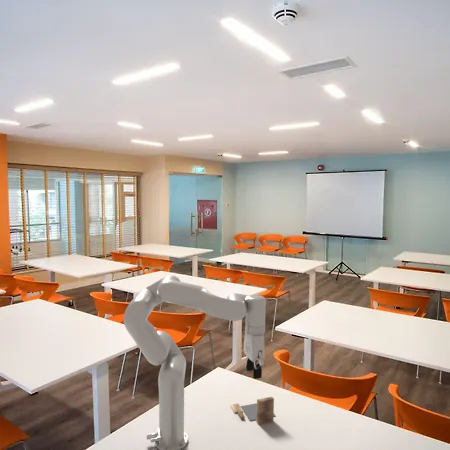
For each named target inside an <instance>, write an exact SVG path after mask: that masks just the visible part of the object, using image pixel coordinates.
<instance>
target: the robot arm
mask: <svg viewBox="0 0 450 450" xmlns="http://www.w3.org/2000/svg"><path fill="white" fill-rule="evenodd" d="M162 303H167V304H168V303H169V304H173V305H178V306H182V307H188V308H191V309H196V310H198V311H200V312H201V313H205V314H207V315H209V316H211V317H213V318H218V319H222V320H227V321H232V322H238V321H241V320H243V319H244V320H245V325H244V329H245V330H244V338H243V340H244V341H243V353H244V355H245V356H246V371H248V372H249V371H253V374H252V378H253V380H257V379H262V374H263V373H262V372H263V371H262V370H263V367H264V365H265V361H264V360H265V353H266V351H265V334H266V312H267V310H266V308H267V307H266V306H267V301H266V297H265V296H263V295H260V294H250V295H249V294H243V293H238V292H237V293H231V294H229V295H228V296H227V297H226V298H224V297H220V296H218V295H216V294H213V293H212V292H210V291H209V290H208V289H207V288H206V287H203V286H202V285H197V284H194V283H189V282H184V281H181V280H180V279H179V277H177V276H176V275H171V274H170V275H166V276H164V277H162V278H160V279H159V280H157V281H155V282H154V283H152V284H151V285H148V286H146V287H145V288H143V289H141V290H140V291H139V292H137V294H136V295H135V296H134V297H133V299H132V300H130V302H129V303H128V305H127V307H126V309H125V311H124V314H123V324H124V327H125V330H126V331H127V333H128V334H129V335H130V336H131V338H132V340H133V341H134V342H135V344H136V345H137V347H138V348H139V350H140V352H141V353H142V354H143V356H144V357H145V359H146V360H147V362H148V363H149V364H151V365H153V366H161V367H160V370H159V373H158V380H157V382H158V383H157V384H158V405H159V407H158V411H159V412H158V414H159V415H158V423H159V424H158V428H157V431H154V432H152V433H147V434H146V440H150V444H151V443H154V445H155V447H156V448H157V449H158V450H182V449H184V448H185V447H186V446H187V444H188V440H189V435H188V434H187V432H185V377H186V376H185V375H186V368H187V360H186V357H185V356H184V353H183V352H182V351H181V349H180V348H179V346H178V345H177V343H176V342H175V340H174V339H173V338H172V336H171V335H170V334H169V333H167V332H166V331H164V330H156V328H155V326H154V325H153V324H152V323H151V322H150V321H149V320H148V318H149V316H150V315H151V314H152V312H153V310H154V308H155V307H157V306H158V305H160V304H162ZM257 362H258V363H257Z"/></svg>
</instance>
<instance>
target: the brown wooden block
mask: <svg viewBox="0 0 450 450" xmlns="http://www.w3.org/2000/svg"><path fill="white" fill-rule="evenodd" d="M256 403H257V420H255V421H256V423H257V424H258V425H262V424H268V423H271V422H272V423H273V422H274V417H273V415H274V414H275V410H274V409H275V408H274V407H275V398H274V397H273V396H268V397H262V398H257V399H256Z"/></svg>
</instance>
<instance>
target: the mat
mask: <svg viewBox="0 0 450 450" xmlns="http://www.w3.org/2000/svg"><path fill="white" fill-rule="evenodd" d="M240 407H241V409H242V410H243V412H244V413H243V414H245V416H246V418H247V419H248V420H249V422H253V421H256V420H257V402H256V403H251V404H244V405H241V406H240ZM274 417H276V414H275V413H274V415H273V418H274Z"/></svg>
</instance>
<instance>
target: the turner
mask: <svg viewBox="0 0 450 450" xmlns="http://www.w3.org/2000/svg"><path fill="white" fill-rule="evenodd" d="M229 407H230V409H231V410H232V412H233V413H234V414H237V415H238V417H239V418H240V420H241V421H242V420H245V419H246V418H245V416H246V415H244V413H243V412H244V411H243V409H242V408H241V406H240V404H239V403H234V404H230V405H229Z"/></svg>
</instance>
